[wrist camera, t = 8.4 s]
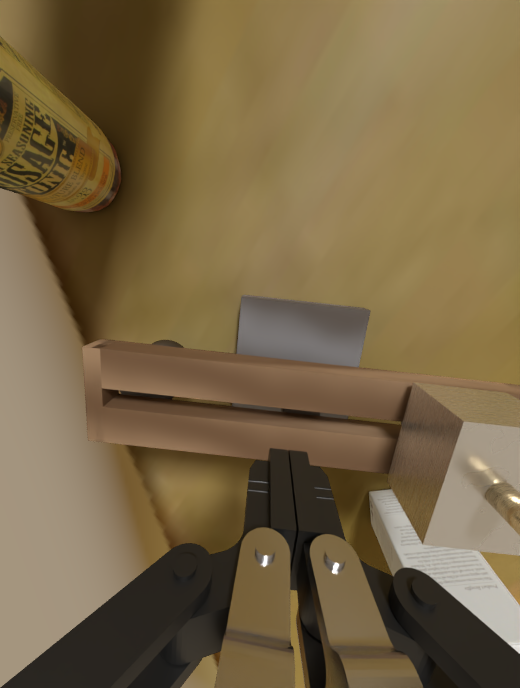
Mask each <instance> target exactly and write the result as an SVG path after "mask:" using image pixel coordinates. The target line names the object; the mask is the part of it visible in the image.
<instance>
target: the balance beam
mask: <svg viewBox="0 0 520 688" xmlns="http://www.w3.org/2000/svg"><path fill="white" fill-rule="evenodd" d="M369 315H370V310H367V309H365V308H359V307H350V306H341V305H332V304H322V303H313V302H304V301H295V300H286V299H277V298H268V297H259V296H250V295H243V296H242V298H241V309H240V320H239V332H238V343H237V354H233V353H224V352H215V351H205V350H196V349H187V348H184V347H183V346H181V345H180V344H178V343H177V342H174V341H171V340H160V341H157V342H154V343H152V344H142V343H133V342H124V341H115V340H106V339H100V340H97V341H95V342H92V343H90V344H88V345H85V346H83V347H82V352H83V368H84V383H85V398H86V413H87V430H88V440H89V441H98V442H106V443H115V444H124V445H133V446H142V447H151V448H160V449H169V450H178V451H187V452H196V453H206V454H215V455H224V456H233V457H242V458H251V459H260V460H268V455H269V449H270V448H275V449H284V450H294V451H304V452H307V454H308V458H309V463H310V465H314V466H323V467H332V468H341V469H350V470H359V471H368V472H377V473H386V474H389V471H390V468H391V464H392V460H393V457H394V453H395V449H396V445H397V442H398V438H399V434H400V431H401V427H402V425H396V424H387V423H378V422H369V421H360V420H351V419H348V416H356V417H366V418H375V419H384V420H393V421H402V422H403V419H404V416H405V412H406V408H407V405H408V401H409V397H410V394H411V390H412V386H413V382H415V383H424V384H433V385H442V386H451V387H460V388H469V389H478V390H488V391H497V392H506V393H508V394H510V395H512V396H513V397H515V398H517V399H519V400H520V385H514V384H505V383H496V382H486V381H477V380H468V379H459V378H450V377H441V376H432V375H423V374H414V373H405V372H396V371H387V370H378V369H369V368H360V367H359V363H360V358H361V353H362V349H363V344H364V339H365V334H366V330H367V325H368V320H369ZM119 390H120V392H121V394H119ZM174 396H176V397H185V398H194V399H203V400H212V401H221V402H230V403H232V406H224V405H215V404H206V403H197V402H188V401H179V400H172V398H173V397H174Z"/></svg>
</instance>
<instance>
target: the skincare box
mask: <svg viewBox="0 0 520 688" xmlns="http://www.w3.org/2000/svg"><path fill="white" fill-rule="evenodd" d="M369 500H370V514H371V525H372V527H373V530H374V532H375V534H376V537H377V539H378V542H379V544H380V547H381V549H382V551H383V554H384V556H385V559H386V561H387V563H388V566H389V568H390V571H391V573H392V575H393V576H394V575H395V573H396V571H398V570H399V569H401V568H405V567H408V568H414V569H417V570H420V571H422V572H424V573H426V574H427V575H429V576H430V577H431V578H433V579H434V580H435V581H436V582H437V583H439V584H440V585H441V586H442V587H443V588H444V589H445V590H447V591H448V592H449V593H450V594H451V595H452V596H454V597H455V598H456V599H457V600H458V601H459V602H461V603H462V604H463V605H464V606H465V607H466V608H467V609H469V610H470V611H471V612H472V613H473V614H474V615H476V616H477V617H478V618H479V619H480V620H481V621H482V622H484V623H485V624H486V625H487V626H488V627H489V628H491V629H492V630H493V631H494V632H495V633H496V634H497V635H499V636H500V637H501V638H502V639H503V640H504V641H506V642H507V643H508V644H509V645H510V646H511V647H512V648H514V649H515V650H516V651H517V652H518V653H519V654H520V605H519V604H518V602H517V601H516V600H515V598H514V597H513V596H512V595H511V593H510V592H509V591H508V589H507V588H506V587H505V585H504V584H503V583H502V581H501V580H500V579H499V577H498V576H497V575H496V573H495V572H494V571H493V569H492V568H491V567H490V565H489V564H488V563H487V561H486V560H485V559H484V558H483V556H482V555H481V553H480V552H479V551H474V550H465V549H456V548H447V547H438V546H429V545H423V544H422V543H421V541H420V539H419V537H418V536H417V534H416V532H415V530H414V528H413V527H412V525H411V523H410V521H409V519H408V518H407V516H406V514H405V512H404V511H403V509H402V507H401V505H400V503H399V502H398V500H397V498H396V496H395V494H394V493H393V491H392V489H389V490H380V491H370V492H369Z"/></svg>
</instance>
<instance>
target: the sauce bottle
mask: <svg viewBox="0 0 520 688" xmlns="http://www.w3.org/2000/svg"><path fill="white" fill-rule="evenodd" d="M120 183H121V169H120V164H119V161H118V157H117V153H116V151H115V149H114V146H113V145H112V144H111V142H110V141H109V140H108V139H107V138H106V137H105V135H104V133H103V132H102V131H101V129H100V128H99V127H98V126H97V125H96V124H95V123H94V122H93V121H92V120H91V119H90V118H89V117H87V116H86V115H85V114H84V113H83V112H82V111H81V110H80V109H79V108H78V107H77V106H75V105H74V104H73V103H72V102H71V101H70V100H69V99H68V98H67V97H66V96H64V95H63V94H62V93H61V92H60V91H59V90H58V89H57V88H56V87H55V86H53V85H52V84H51V83H50V82H49V81H48V80H47V79H46V78H45V77H44V76H43V75H42V74H40V73H39V72H38V71H37V70H36V69H35V68H34V67H33V66H32V65H31V64H30V63H29V62H28V61H26V60H25V59H24V58H23V57H22V56H21V55H20V54H19V53H18V52H17V51H16V50H15V49H14V48H12V47H11V46H10V45H9V44H8V43H7V42H6V41H5V40H4V39H3V38H2V37H1V36H0V188H2V189H5V190H9V191H12V192H14V193H18V194H21V195H24V196H27V197H30V198H32V199H35V200H38V201H41V202H44V203H47V204H50V205H53V206H56V207H58V208H61V209H64V210H71V211H76V212H92V211H98V210H101V209H102V208H104V207H107V206H108V205H109V204H110V203H111V202H112V200H113V199H114V197H115V195H116V193H117V192H118V188H119V186H120Z"/></svg>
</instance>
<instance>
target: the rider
mask: <svg viewBox="0 0 520 688" xmlns="http://www.w3.org/2000/svg"><path fill="white" fill-rule="evenodd" d="M401 424H402V427H401V431H400V434H399V438H398V442H397V445H396V449H395V453H394V457H393V460H392V464H391V468H390V471H389V475H388V479H387V482H388V484H389V486H390V487H391V489H392V491H393V493H394V494H395V496H396V498H397V500H398V502H399V503H400V505H401V507H402V509H403V511H404V512H405V514H406V516H407V518H408V519H409V521H410V523H411V525H412V527H413V528H414V530H415V532H416V534H417V536H418V537H419V539H420V541H421V543H422V544H423V545H429V546H438V547H447V548H456V549H465V550H474V551H483V552H492V553H501V554H510V555H519V556H520V400H519V399H517V398H515V397H513V396H512V395H510V394H508V393H506V392H497V391H488V390H478V389H469V388H460V387H451V386H442V385H433V384H424V383H415V382H413V386H412V390H411V394H410V397H409V401H408V405H407V408H406V412H405V416H404V419H403V422H402V423H401Z"/></svg>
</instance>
